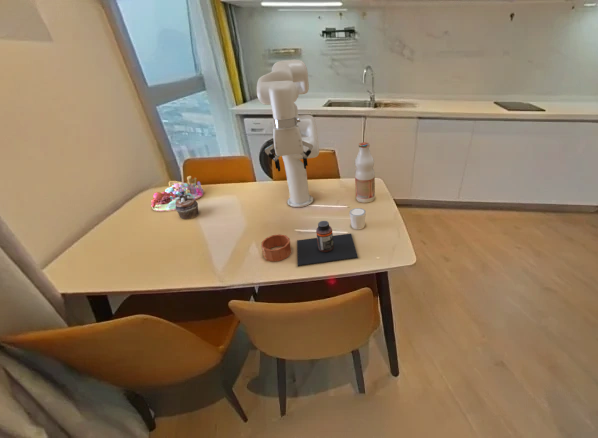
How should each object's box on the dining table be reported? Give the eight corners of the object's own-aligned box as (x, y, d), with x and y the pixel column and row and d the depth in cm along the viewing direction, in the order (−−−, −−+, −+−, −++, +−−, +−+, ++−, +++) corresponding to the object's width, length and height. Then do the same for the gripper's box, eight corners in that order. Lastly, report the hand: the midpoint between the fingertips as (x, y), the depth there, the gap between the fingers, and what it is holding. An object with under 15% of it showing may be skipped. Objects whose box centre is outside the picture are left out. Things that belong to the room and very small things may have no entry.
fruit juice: (361, 204, 152) (359, 148, 137) (352, 197, 159) (350, 142, 145) (378, 200, 155) (378, 144, 141) (369, 193, 163) (368, 139, 148)
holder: (264, 246, 125) (262, 236, 122) (291, 243, 126) (289, 233, 124) (262, 263, 116) (260, 252, 114) (291, 259, 117) (289, 248, 115)
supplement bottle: (318, 244, 124) (315, 219, 118) (333, 243, 124) (331, 218, 119) (318, 253, 119) (315, 228, 113) (333, 252, 119) (331, 226, 113)
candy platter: (157, 194, 171) (151, 178, 166) (204, 185, 178) (199, 170, 173) (150, 215, 151) (143, 197, 146) (203, 204, 158) (198, 188, 153)
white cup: (364, 230, 132) (364, 216, 129) (348, 229, 134) (347, 215, 130) (367, 222, 138) (367, 208, 134) (352, 221, 139) (351, 207, 136)
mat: (297, 241, 127) (297, 240, 127) (351, 234, 130) (351, 233, 130) (297, 266, 114) (297, 265, 113) (357, 258, 117) (357, 256, 116)
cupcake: (173, 218, 147) (166, 199, 142) (190, 208, 155) (183, 190, 150) (189, 221, 144) (182, 202, 139) (205, 211, 152) (199, 192, 147)
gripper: (309, 118, 114) (314, 163, 123) (260, 122, 112) (269, 167, 121) (310, 123, 108) (315, 170, 117) (258, 127, 106) (268, 175, 115)
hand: (292, 168), depth 119 cm, fingers open, 9 cm apart
